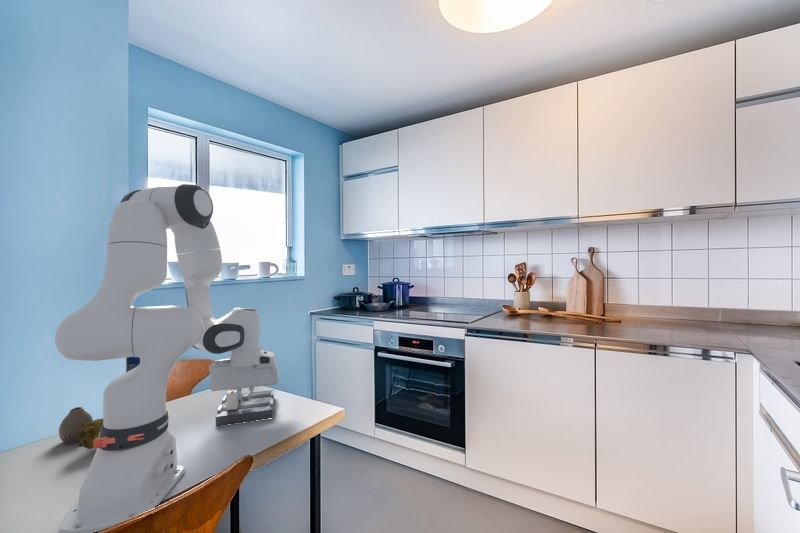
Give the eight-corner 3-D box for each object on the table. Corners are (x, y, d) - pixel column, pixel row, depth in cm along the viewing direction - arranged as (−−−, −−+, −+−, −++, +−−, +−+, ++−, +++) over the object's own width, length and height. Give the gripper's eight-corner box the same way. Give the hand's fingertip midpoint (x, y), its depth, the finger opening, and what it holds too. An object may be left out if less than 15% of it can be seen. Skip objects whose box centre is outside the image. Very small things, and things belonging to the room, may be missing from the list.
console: (272, 419, 106) (272, 407, 106) (215, 426, 101) (215, 414, 101) (274, 398, 123) (274, 387, 123) (225, 403, 118) (225, 393, 118)
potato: (142, 441, 93) (142, 412, 93) (78, 463, 83) (78, 430, 83) (134, 432, 98) (134, 404, 98) (72, 451, 88) (72, 420, 88)
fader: (237, 409, 106) (237, 392, 106) (226, 410, 105) (226, 393, 105) (238, 405, 109) (238, 389, 109) (228, 406, 108) (228, 390, 108)
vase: (71, 448, 89) (71, 415, 89) (51, 445, 91) (51, 412, 91) (99, 435, 96) (99, 404, 96) (80, 432, 97) (80, 402, 97)
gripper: (206, 363, 102) (206, 409, 102) (278, 357, 108) (278, 400, 108) (211, 358, 108) (211, 401, 108) (279, 352, 114) (279, 393, 114)
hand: (245, 400), depth 108 cm, fingers closed
